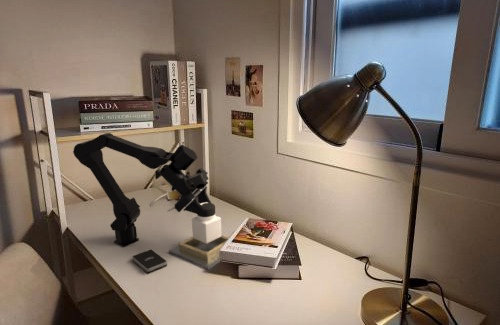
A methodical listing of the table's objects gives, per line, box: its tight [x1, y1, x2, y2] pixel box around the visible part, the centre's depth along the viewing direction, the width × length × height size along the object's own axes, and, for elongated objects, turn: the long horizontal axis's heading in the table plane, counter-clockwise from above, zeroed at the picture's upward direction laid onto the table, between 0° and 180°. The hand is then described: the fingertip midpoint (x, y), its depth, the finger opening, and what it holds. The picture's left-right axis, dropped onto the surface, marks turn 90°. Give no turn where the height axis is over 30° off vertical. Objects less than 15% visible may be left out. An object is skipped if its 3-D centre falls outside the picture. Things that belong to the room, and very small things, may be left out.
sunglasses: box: [150, 190, 181, 213], centre depth 161 cm, size 14×15×5 cm
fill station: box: [168, 235, 229, 270], centre depth 120 cm, size 18×18×3 cm
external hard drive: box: [131, 248, 168, 275], centre depth 112 cm, size 7×11×2 cm, turn 42°
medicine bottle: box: [191, 202, 223, 244], centre depth 119 cm, size 7×7×12 cm
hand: (210, 212), depth 118 cm, fingers closed on medicine bottle, 6 cm apart
